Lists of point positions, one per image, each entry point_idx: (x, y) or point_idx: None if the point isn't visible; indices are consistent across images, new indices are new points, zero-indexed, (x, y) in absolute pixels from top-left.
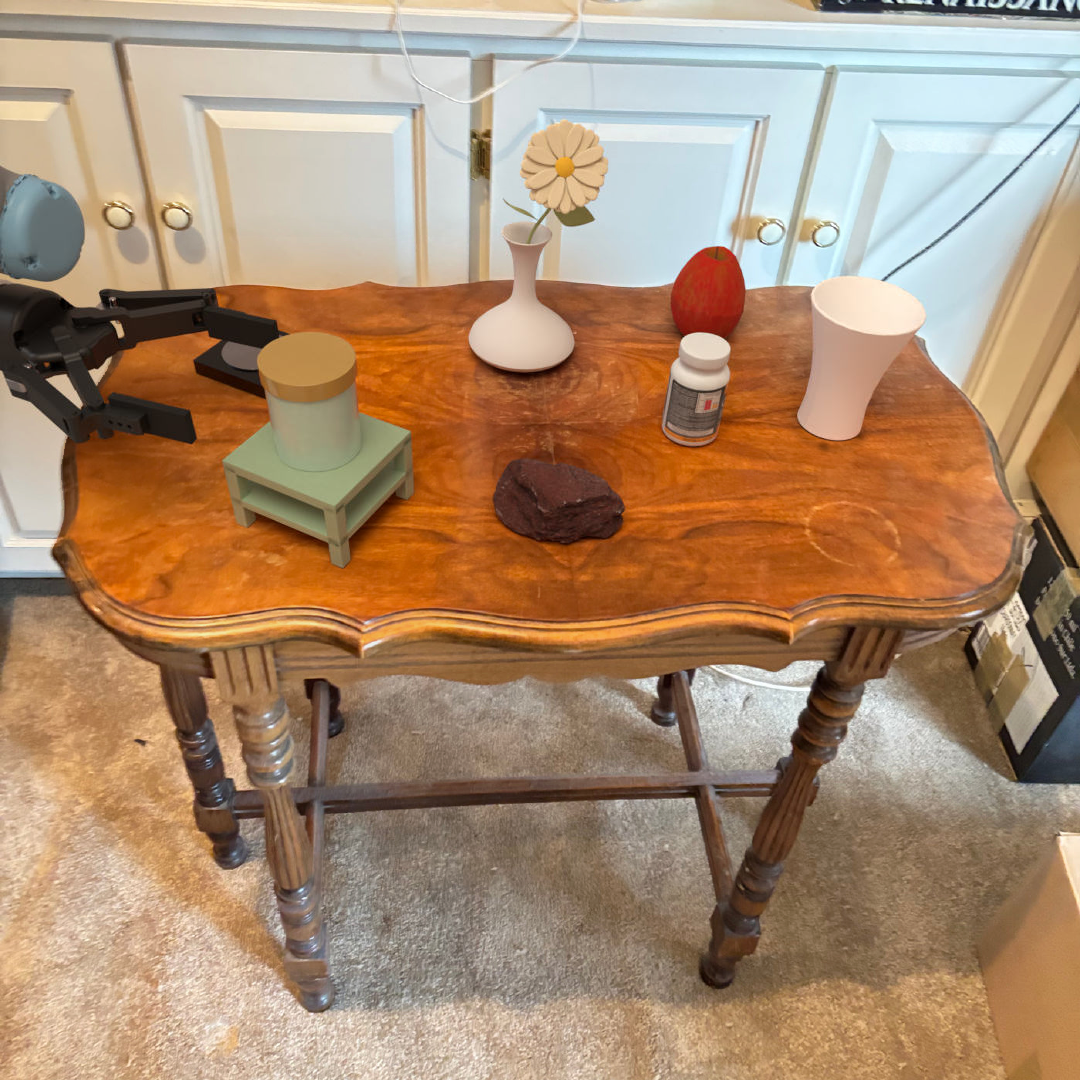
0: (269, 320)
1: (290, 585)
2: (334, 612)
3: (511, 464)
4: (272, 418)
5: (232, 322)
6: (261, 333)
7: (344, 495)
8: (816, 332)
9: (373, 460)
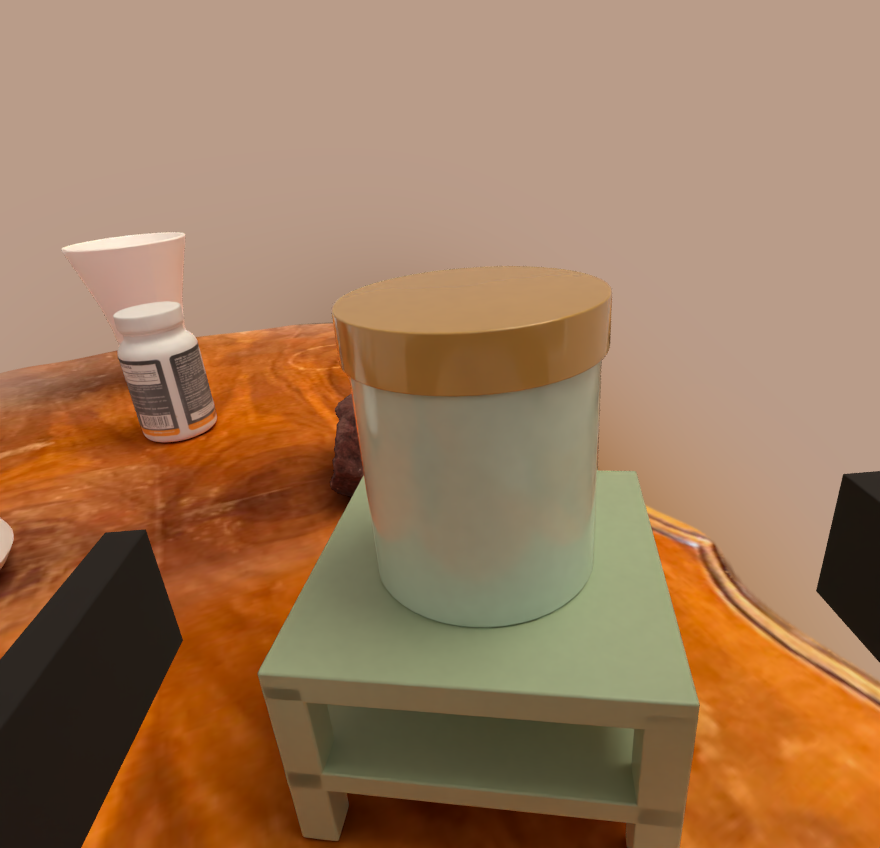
0: (105, 547)
1: (728, 660)
2: (715, 581)
3: (343, 451)
4: (589, 462)
5: (33, 741)
6: (132, 624)
7: (599, 471)
8: (138, 276)
9: None
